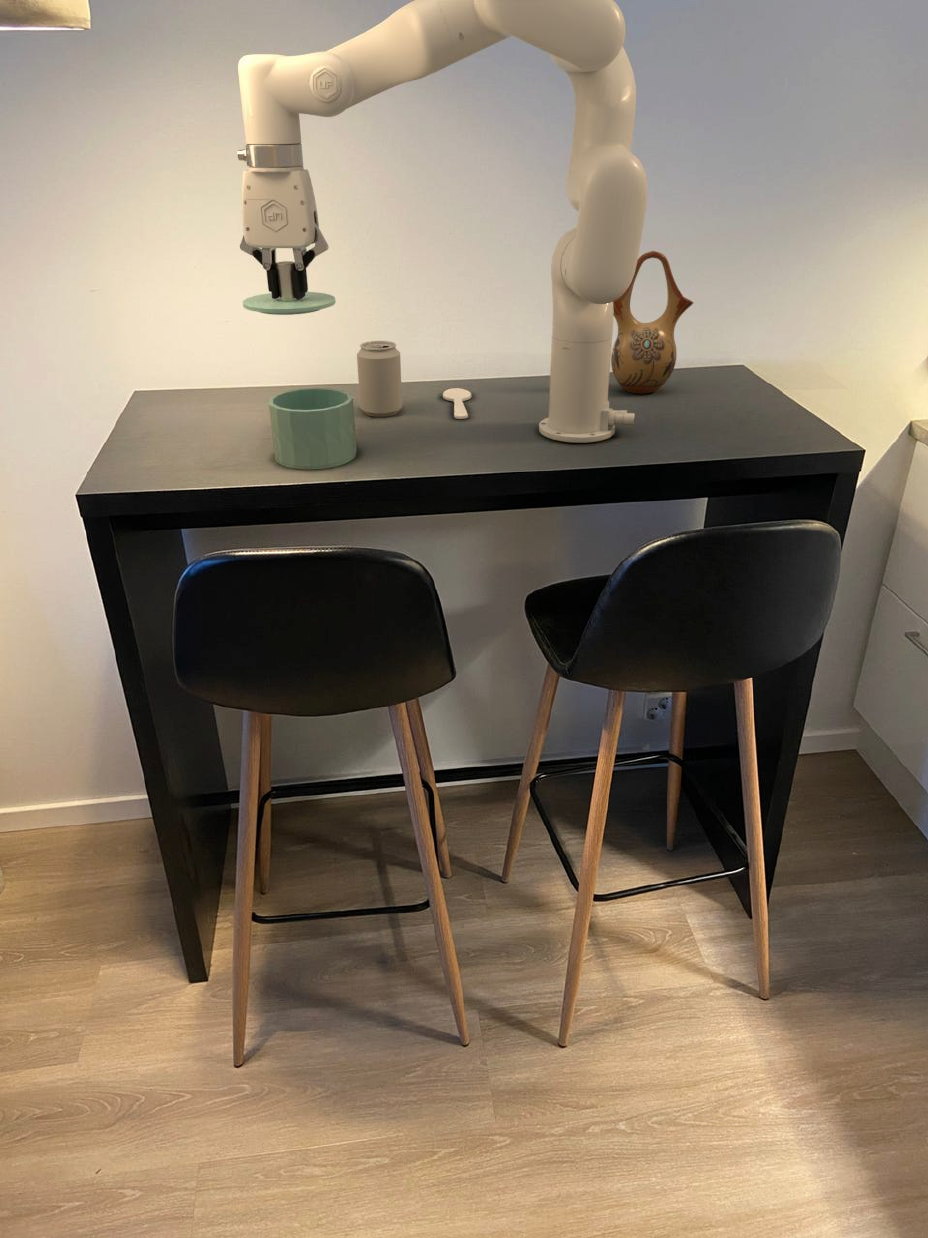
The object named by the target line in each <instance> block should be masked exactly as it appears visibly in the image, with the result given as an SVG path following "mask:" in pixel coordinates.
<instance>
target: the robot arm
mask: <svg viewBox="0 0 928 1238" xmlns="http://www.w3.org/2000/svg"><path fill="white" fill-rule="evenodd" d="M626 31H627V30H626V21H625V17H624V15H623V11H622V10H621V8H620V7H619V4H618V3H617V2H616V1H615V0H413V1H411V2H408V3H406V4H405V5H403V6H402V7H400V8H399V9H397V10H395V11H394V12H393V13H392V14H390V15H389V16H388V17H386V18H385V19H384V20H383V21H381V22H380V23H378V24H377V25H375V26H373V27H371V28H370V29H368V30H366V31H364V32H362V33H361V34H358V35H357V36H355V37H352V38H350V39H348V40H346V41H344V42H342V43H340V44H338V45H336V46H334V47H332V48H330V49H328V50H325V51H316V52H311V53H305V54H298V55H289V56H287V55H285V54H277V53H269V54H268V53H260V54H259V53H256V54H255V53H254V54H247V55H243V56H241V58H240V59H239V61H238V63H237V73H238V74H237V75H238V83H239V93H240V101H241V102H240V103H241V109H242V119H243V128H244V138H245V145H244V148H243V149H237V160H238V161H243V162H246V167H248V169H247V170H243V171H242V179H241V180H242V181H241V208H242V209H241V212H242V213H241V214H242V228H243V231H242V232H243V235H242V238H241V241H240V244H239V249H240V251H242V252H244V253H246V254H248V255H250V256H251V257H253V258H254V259H255V260H256V261H257V262H258V263H259V264H260V265H261V266H262V268H263V269H264V270H265V272H266V279H267V281H266V282H267V288H268V293H272V299H277V298H279V288H278V278H277V268H276V263H277V249H292V254H293V259H294V260H293V261H294V262H295V270H294V271H293V283H294V293H295V298H296V299H302V298H303V297H305V292H309V291H308V290H309V284H308V274H307V268H308V267H309V265H310V264H311V263H312V262H313V260H315V258H316V257H318V256H319V255H321V254H324V253H325V252H326V251H328V250H329V248H330V247H329V244H328V242H327V240H326V239H325V237H324V235H323V233H322V231H321V229H320V224H319V223H320V222H319V215H318V208H317V203H316V202H317V201H316V197H315V192H314V188H313V183H312V179H311V176H310V172H309V169H305V167H304V159H303V145H302V135H301V123H300V122H301V121H300V120H301V119H300V114H301V115H302V114H303V115H310V116H315V117H316V116H317V117H323V118H333V117H336V116H339V115H340V114H342V113H344V112H345V111H346V110H347V109H350V108H351V107H353V106H356V105H358V104H360V103H362V102H364V101H366V100H368V99H370V98H373V97H374V96H376V95H379V94H381V93H384V92H385V91H387V90H390V89H392V88H394V87H397V86H399V85H402V84H405V83H409V82H412V81H418V80H421V79H423V78H426V77H428V76H430V75H433V74H434V73H437V72H439V71H442V70H443V69H446V68H447V67H449V66H451V65H454V64H456V63H457V62H460V61H462V60H464V59H466V58H468V57H470V56H473V55H474V54H477V53H480V51H481V52H482V51H483V50H485V49H487V48H489V47H491V46H494V45H496V44H498V43H500V42H502V41H505V40H506V39H508V38H510V37H512V36H513V37H515V38H517V39H519V40H521V41H523V42H525V43H527V44H528V45H531V46H533V47H534V48H537V49H539V50H541V51H543V52H546V53H548V55H549V57H550V59H551V60H552V62H553V63H554V65H556V66H557V67H558V68H559V69H561V71H563V72H564V73H565V74H566V75H567V77H568V79H569V80H570V83H571V85H572V89H573V94H574V101H575V102H574V105H575V109H574V122H573V123H574V124H573V134H572V140H571V141H572V143H571V149H570V157H569V164H568V170H567V176H566V184H565V189H566V196H567V199H568V202H569V204H570V205H571V207H573V208H574V209H575V210H576V211H577V212H578V214H577V223H576V227H574V228H572V229H570V230H568V231H566V232H565V233H564V234H563V235H562V236H561V237H560V239H559V240H558V241H557V243H556V244H555V246H554V247H555V248H554V249H553V252H552V256H551V263H550V264H551V265H550V278H551V279H550V280H551V295H552V324H551V325H552V326H551V327H552V328H551V347H550V369H549V371H550V372H549V375H550V376H549V396H548V397H549V398H548V417H545V418H544V419H542V420H541V421H540V422H539V423H538V432H539V433H540V434H541V435H542V436H543V437H545V438H547V439H550V440H554V441H558V442H563V443H572V444H573V443H574V444H586V443H596V442H601V441H605V440H608V439H610V438H612V436H614V435H615V433H616V425H623V426H634V425H635V414H636V413H634V412H633V413H632V412H628V410H627V409H615V410H614V409H613V408H612V407H611V408H610V400H608V399H609V385H610V370H611V354H612V344H613V331H614V316H613V301H615V300H616V299H618V298H619V297H621V296H622V295H623V294H624V293H625V291H626V290H627V289H628V287H629V286H630V284H631V282H632V279H633V276H634V273H635V270H636V265H637V260H638V259H639V254H640V248H641V243H642V242H641V241H642V235H643V229H644V223H645V217H646V211H647V205H648V194H649V190H648V187H649V186H648V178H647V174H646V170H645V168H644V166H643V163H642V162H641V161H640V160H639V158H638V157H637V156H636V155H635V154H633V153H632V147H633V146H632V145H633V136H634V127H635V118H636V108H637V84H636V79H635V74H634V70H633V67H632V64H631V62H630V59H629V56H628V54H627V52H626V49H625V48H624V44H625V39H626V34H627V33H626ZM311 245H314V246H313V247H311V248H310V249H307V248H308V247H309V246H311Z"/></svg>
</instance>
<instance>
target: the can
mask: <svg viewBox="0 0 928 1238" xmlns="http://www.w3.org/2000/svg"><path fill="white" fill-rule="evenodd" d="M359 347H360V349H359V350H358V352H356V364H357V376H358V379H357V380H358V394H359V407H360V410H361V411H362V412H363V413H365V415H367V416H371V417H378V418H380V417H391V416H394V415H397V414H398V413H399V412H400V410H402V408H403V390H402V389H403V388H402V387H403V386H402V363H401V352H400V351H399V350H398V349H397V344H396V343H395V342H393V341H389V340H370V341H365V342H362V343H361V344H359Z"/></svg>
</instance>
